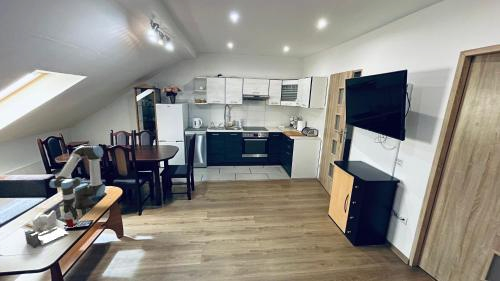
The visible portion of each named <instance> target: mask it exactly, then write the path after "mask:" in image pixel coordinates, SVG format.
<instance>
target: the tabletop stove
mask: <svg viewBox="0 0 500 281" xmlns="http://www.w3.org/2000/svg"><path fill="white" fill-rule="evenodd" d="M69 234H70V233H69V232H67V231H65V230H63V229H62V228H60V227H58V226H56V227H53V228H49V230H46V231H43V232H42V233H39V232H37V231H36V229H34V228H28V229H26V230H24V236H25V241H26V244H27V245H29V246H30V247H32V249H36V248H38V247H45V246H47V245H49V244H51V243H53V242H56V241H57V240H60V239H62V238H63V237H66V236H68V235H69Z"/></svg>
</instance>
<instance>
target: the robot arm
mask: <svg viewBox="0 0 500 281" xmlns="http://www.w3.org/2000/svg"><path fill="white" fill-rule="evenodd" d="M103 155H104V150H103V147H102V146H99V145H81V146H79V147H77V148H75V149H74V150H73V151H72V152H71V153H70V156H69V158H68V160H67V162H66V164H64V166H63V168H62V169H61V171H60V172H59V174H58V175H57V176H56V178H53V179H51V180H50V182H49V187H50V188H53V189H54V188H55V189H57V188H58V189H60V188H61V194H62V196H61V197H62V202H63V213H64V215H65V214H67V213H70V212H71V213H72V215H73V217H72V218H73V224H75V223H77V224H78V219H77V216H78V217H79V215H78V213H79V212H78V210H81V209H86V208H89V207H90V206H92V205H93V200H92V198H90V197H102V196H103V195H104V194H105V191H106V185H105V184H104V183H103V182H102V180H101V165H100V160H101V159H102V157H104V156H103ZM83 158H86V159H87V161H88V165H89V166H88V167H89V176H90V179H89V180H90V183H87V182H86V183H83V179H82V178H81V177H74V178H69V177H70V176H71V174H72V173H73V171H74V169H75V168H76V166H77V165H78V163H79V161H81V160H82V159H83ZM77 212H78V213H77Z"/></svg>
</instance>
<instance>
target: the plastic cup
mask: <svg viewBox="0 0 500 281" xmlns="http://www.w3.org/2000/svg"><path fill="white" fill-rule="evenodd" d="M77 213H78V216H77V220H78V219H79V215H80V213H79V212H78V211H77ZM72 217H73V215H72V213H71V211H69V213H67V214H65V213H64V215H63V216H62V218H63V219H64V222H65V224H66V227H67V228H68V227H73V226H75V225H76V224H77V225H78V222H77V223H75V224H73V218H72Z"/></svg>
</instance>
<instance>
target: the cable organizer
mask: <svg viewBox="0 0 500 281" xmlns="http://www.w3.org/2000/svg"><path fill="white" fill-rule="evenodd" d="M31 222H32V226H33V229H36V232H37V231H39V230H40V229H42V228H43V226H45V228H47V229H52V227H53V226H54V225H55V223H56V222H57V212H56V210H52V211H51V212H50V213H49V214H45V211H42V212H41V211H40V212H39V214H37V215H36V216H35V217H34V218H33V220H31Z"/></svg>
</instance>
